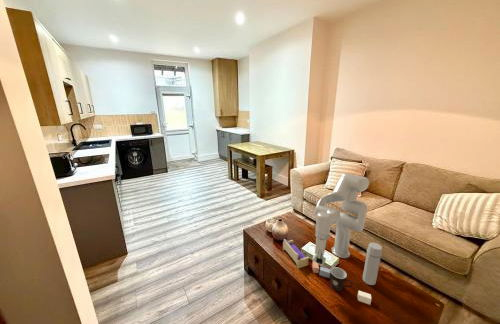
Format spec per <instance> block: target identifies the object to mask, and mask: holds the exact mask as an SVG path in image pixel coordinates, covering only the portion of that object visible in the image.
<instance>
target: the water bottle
mask: <svg viewBox="0 0 500 324" xmlns="http://www.w3.org/2000/svg"><path fill="white" fill-rule="evenodd" d="M382 253H383V247H382V246H381V244H379V243H376V242H370V243H368V246H367V249H366V256H365V261H364V262H365V263H364V269H363V273H362V281H363V282H364V284H366V285H368V286H369V285H370V286H374V285H376V284H377V283H376V282H377V279H378V273H379V267H380V265H381V264H380V263H381V258H382V257H383V254H382Z"/></svg>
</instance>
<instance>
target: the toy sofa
mask: <svg viewBox="0 0 500 324" xmlns="http://www.w3.org/2000/svg"><path fill="white" fill-rule="evenodd" d="M282 251H285V252H286V253H288V255H289V256H290V258H291V259H292V260H293V262H295V265H296V268H297V269H301V268H304V267H306V266H309V259H310V257H309V256H305V254H304V253H303V252H302V251H301V250H300V249H299V248H298V247H297V245H295V244H294V239H291V240H287V239H285V238H284V239H283V242H282Z"/></svg>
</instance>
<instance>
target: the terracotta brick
mask: <svg viewBox="0 0 500 324" xmlns="http://www.w3.org/2000/svg"><path fill="white" fill-rule="evenodd" d="M319 266H320V265H319V264H318V263H316V262H315V261H313V260H312V263H311V267H312V273H314V274H319V273H320V267H319Z"/></svg>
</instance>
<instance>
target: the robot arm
mask: <svg viewBox="0 0 500 324" xmlns="http://www.w3.org/2000/svg"><path fill="white" fill-rule="evenodd" d="M369 186H370V180H369V178H368V177H366V176H361V175H355V174H350V173H342V174H341V176H340V177H339V178H338V180H337V182H336V184H335V186H334V188H333V190H332V191H331V192H329V193H326V194H325V195H324V196H322V197H321V198H320V199H319V200H318V202H317V203H316V205H315V208H314V212H313V213H314V215H315V216H316V219H315V221H316V222H315V232H314V235H315V237H316V239H315V246H314V247H315V248H314V255H315V254H317V260H316V262H317V263H319V264H322V260H323V258H322V256H323V257H324V254H325V251H326V248H327V247H326V246H327V240H328V239H330V236H331V235H330V232H331V225H333V224H336V229H335V238H334V245H333V246H332V247H331V252H332V254H333V255H335V257H337V256H338V258H340V259H341V258H342V259H348V258H350V256H351V252H350V251H349V247H350V241H351V230H352V231H354V232H358V233H360V232H362V231H363V229H364V226H365V222H366V217H367V211H368V206H367V205H368V204H366V203H365V202H363V201H360V200H357V198H358V193H362V192H364V191H366V190H367V189H368V188H369ZM336 202H341V210H343V211H344V212H341V211H339V210H337V209H335V208H332V207H328V206H326V205H327V204H329V203H336ZM319 264H318V265H319Z"/></svg>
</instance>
